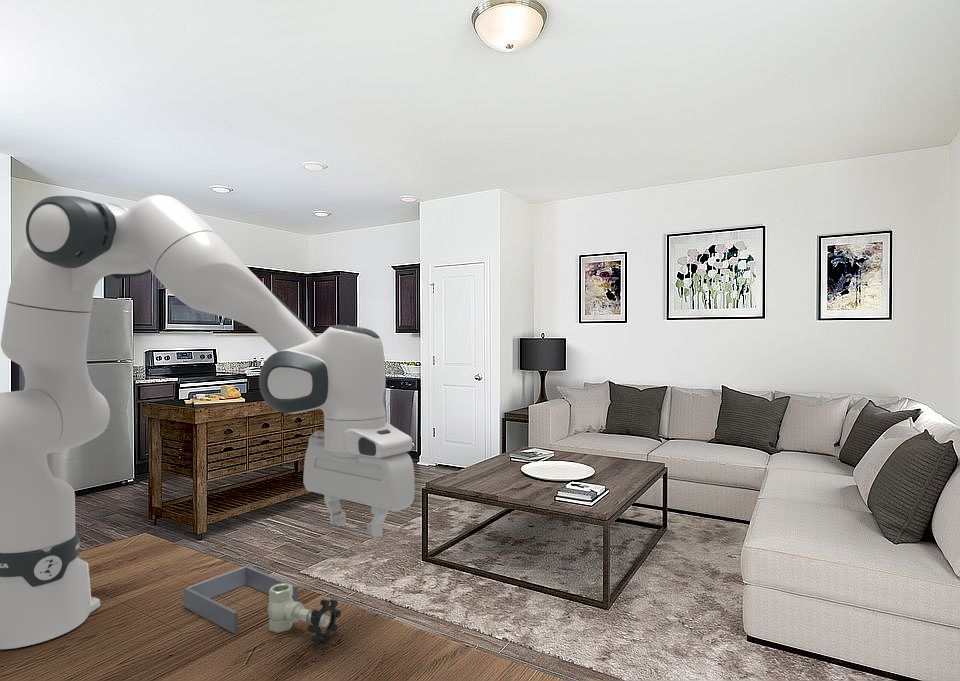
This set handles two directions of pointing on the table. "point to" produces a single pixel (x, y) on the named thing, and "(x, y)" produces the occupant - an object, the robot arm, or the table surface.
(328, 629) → the valve
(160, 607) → the table surface
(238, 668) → the table surface
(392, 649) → the table surface
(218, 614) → the valve dock
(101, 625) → the table surface
